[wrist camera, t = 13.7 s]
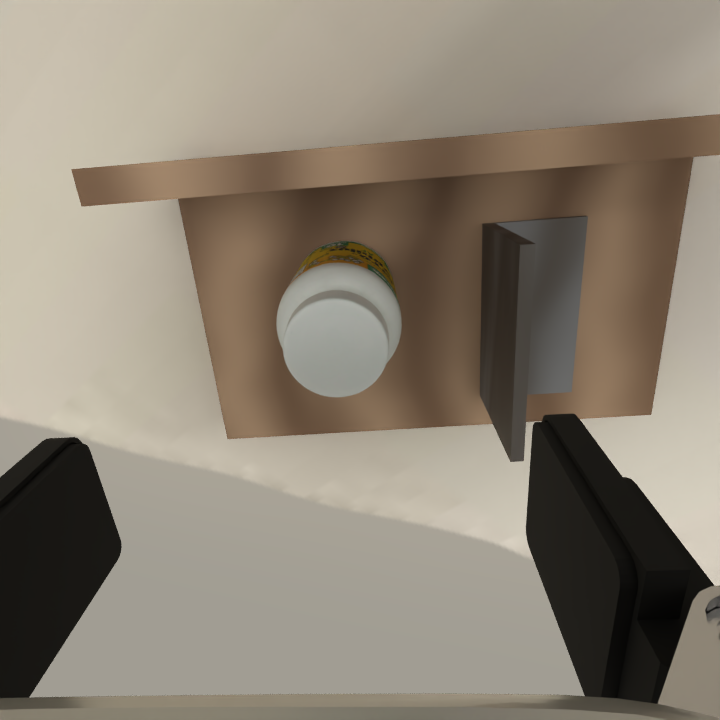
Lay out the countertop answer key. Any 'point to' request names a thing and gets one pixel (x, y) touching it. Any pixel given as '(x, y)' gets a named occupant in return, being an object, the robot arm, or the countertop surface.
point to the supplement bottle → (339, 319)
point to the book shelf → (443, 269)
